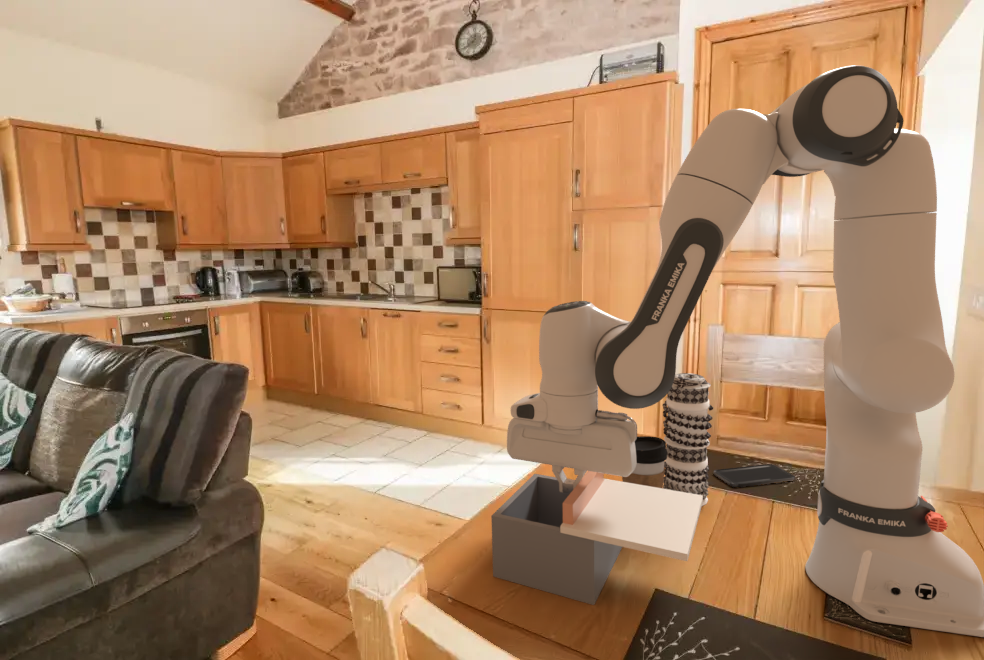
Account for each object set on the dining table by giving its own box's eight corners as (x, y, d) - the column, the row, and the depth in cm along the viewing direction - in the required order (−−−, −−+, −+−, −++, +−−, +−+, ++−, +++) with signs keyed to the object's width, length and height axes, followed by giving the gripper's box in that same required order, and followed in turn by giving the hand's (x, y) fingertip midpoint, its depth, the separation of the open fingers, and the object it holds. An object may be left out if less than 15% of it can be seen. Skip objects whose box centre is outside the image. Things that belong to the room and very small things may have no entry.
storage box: (623, 545, 90) (623, 489, 88) (594, 605, 75) (594, 538, 73) (535, 525, 97) (534, 473, 96) (493, 576, 82) (491, 515, 81)
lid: (702, 501, 83) (703, 477, 82) (687, 561, 67) (688, 531, 67) (596, 482, 91) (596, 460, 90) (560, 532, 75) (560, 506, 74)
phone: (711, 470, 117) (772, 463, 120) (711, 475, 117) (771, 468, 120) (733, 485, 110) (797, 477, 112) (733, 490, 110) (797, 482, 112)
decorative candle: (673, 483, 113) (676, 368, 109) (717, 496, 106) (721, 374, 103) (652, 498, 106) (654, 376, 103) (697, 513, 100) (701, 383, 96)
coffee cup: (668, 532, 94) (670, 450, 91) (619, 528, 95) (619, 448, 93) (663, 509, 102) (664, 434, 100) (618, 506, 103) (618, 432, 101)
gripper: (641, 408, 80) (641, 495, 82) (517, 395, 89) (519, 474, 91) (632, 420, 74) (631, 513, 76) (501, 405, 83) (503, 489, 85)
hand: (569, 492), depth 84 cm, fingers closed
